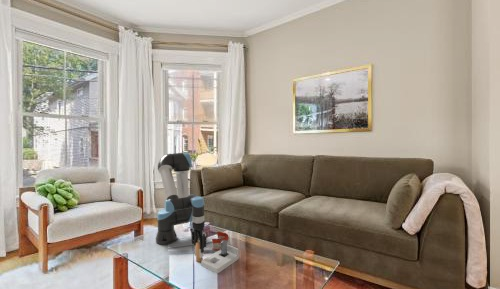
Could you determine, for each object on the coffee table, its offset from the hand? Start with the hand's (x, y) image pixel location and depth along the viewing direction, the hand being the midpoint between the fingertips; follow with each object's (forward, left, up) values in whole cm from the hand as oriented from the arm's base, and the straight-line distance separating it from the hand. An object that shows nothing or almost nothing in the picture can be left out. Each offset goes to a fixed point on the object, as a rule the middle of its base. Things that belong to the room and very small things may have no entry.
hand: (199, 255), depth 171 cm
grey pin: (+11, +11, -3) cm, 16 cm away
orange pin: (0, 0, -3) cm, 3 cm away
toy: (-1, +22, -4) cm, 22 cm away
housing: (+12, +7, -3) cm, 14 cm away
